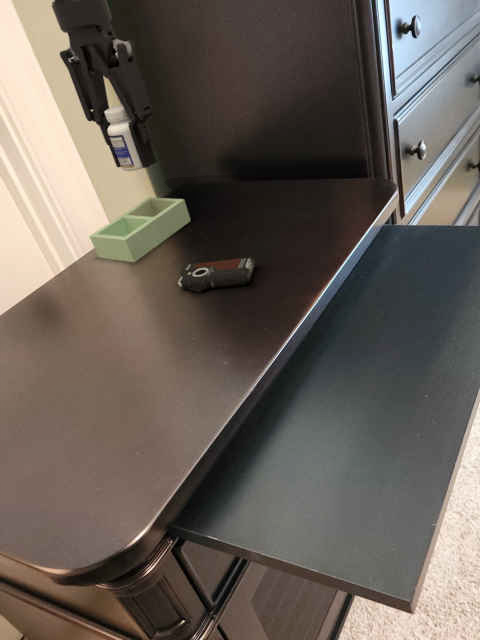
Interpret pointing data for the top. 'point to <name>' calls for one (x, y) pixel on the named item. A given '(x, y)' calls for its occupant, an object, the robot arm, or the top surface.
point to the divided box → (140, 229)
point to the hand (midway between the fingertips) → (136, 164)
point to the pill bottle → (122, 139)
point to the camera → (216, 274)
